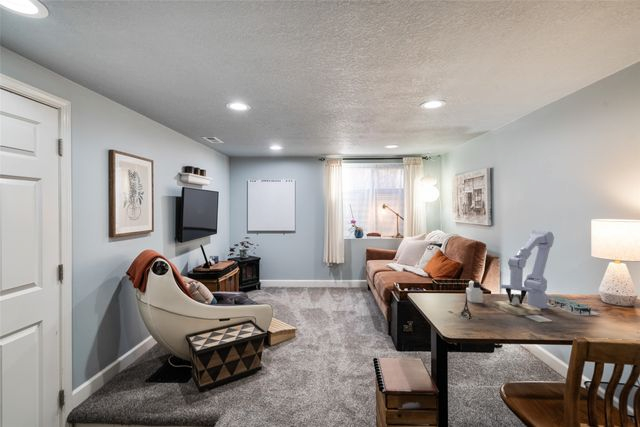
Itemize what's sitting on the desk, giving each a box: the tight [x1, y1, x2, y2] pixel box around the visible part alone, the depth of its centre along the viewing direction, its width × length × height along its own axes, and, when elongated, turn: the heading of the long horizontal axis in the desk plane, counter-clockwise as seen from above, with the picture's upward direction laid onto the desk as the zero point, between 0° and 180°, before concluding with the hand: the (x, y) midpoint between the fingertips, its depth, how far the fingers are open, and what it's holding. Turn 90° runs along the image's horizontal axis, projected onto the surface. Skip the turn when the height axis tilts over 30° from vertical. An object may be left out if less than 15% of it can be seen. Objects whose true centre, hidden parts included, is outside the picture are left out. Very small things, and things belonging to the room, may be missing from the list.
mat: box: [524, 314, 553, 323], centre depth 154 cm, size 8×8×1 cm
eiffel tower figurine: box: [447, 292, 472, 320], centre depth 157 cm, size 15×10×13 cm
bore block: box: [491, 300, 541, 316], centre depth 167 cm, size 16×16×2 cm
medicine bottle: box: [465, 280, 484, 304], centre depth 182 cm, size 7×7×12 cm
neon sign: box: [547, 297, 613, 316], centre depth 172 cm, size 21×4×29 cm
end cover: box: [511, 293, 521, 307], centre depth 167 cm, size 4×4×8 cm
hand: (515, 303), depth 167 cm, fingers closed on end cover, 4 cm apart
